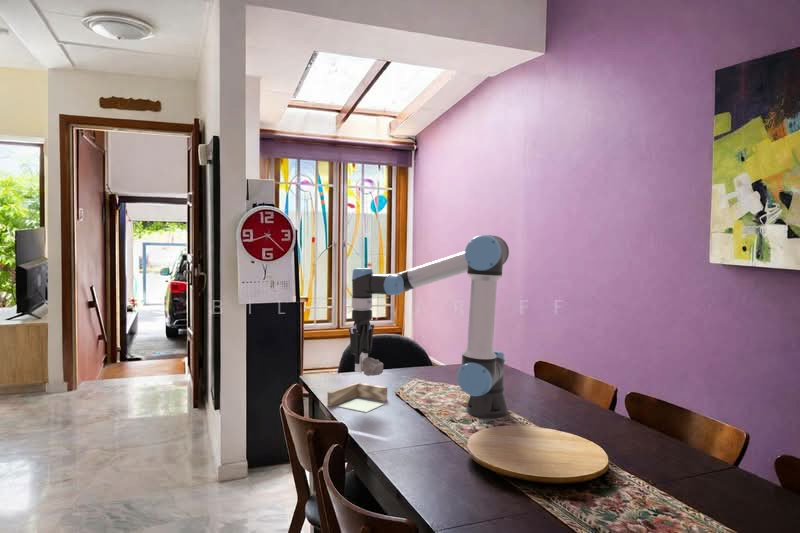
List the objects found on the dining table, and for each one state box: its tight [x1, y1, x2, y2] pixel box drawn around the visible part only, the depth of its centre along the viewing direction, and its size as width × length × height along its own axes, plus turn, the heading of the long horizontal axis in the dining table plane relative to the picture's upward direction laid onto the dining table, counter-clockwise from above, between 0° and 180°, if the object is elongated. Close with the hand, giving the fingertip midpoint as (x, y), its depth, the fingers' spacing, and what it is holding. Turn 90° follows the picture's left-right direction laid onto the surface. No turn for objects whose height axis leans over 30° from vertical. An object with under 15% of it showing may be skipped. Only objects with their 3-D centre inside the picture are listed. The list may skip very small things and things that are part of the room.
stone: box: [362, 356, 384, 377], centre depth 194 cm, size 10×8×6 cm
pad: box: [337, 398, 385, 414], centre depth 199 cm, size 13×12×1 cm
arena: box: [327, 382, 388, 407], centre depth 203 cm, size 15×18×5 cm
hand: (361, 371), depth 199 cm, fingers closed on stone, 3 cm apart
